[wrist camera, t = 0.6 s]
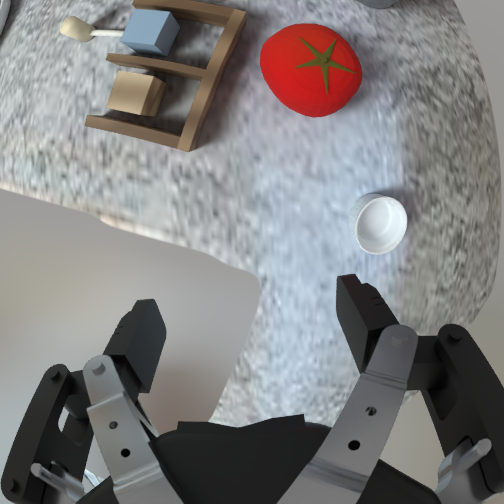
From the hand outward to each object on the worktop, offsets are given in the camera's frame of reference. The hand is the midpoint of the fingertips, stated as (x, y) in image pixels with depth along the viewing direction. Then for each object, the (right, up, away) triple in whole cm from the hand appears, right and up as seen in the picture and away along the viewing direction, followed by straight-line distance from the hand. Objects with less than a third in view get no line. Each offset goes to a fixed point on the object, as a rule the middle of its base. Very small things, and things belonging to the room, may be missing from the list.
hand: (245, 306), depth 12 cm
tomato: (+7, +26, +20) cm, 33 cm away
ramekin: (+19, +8, +28) cm, 35 cm away
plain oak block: (-14, +24, +20) cm, 34 cm away
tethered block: (-18, +34, +15) cm, 41 cm away
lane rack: (-12, +27, +18) cm, 35 cm away
